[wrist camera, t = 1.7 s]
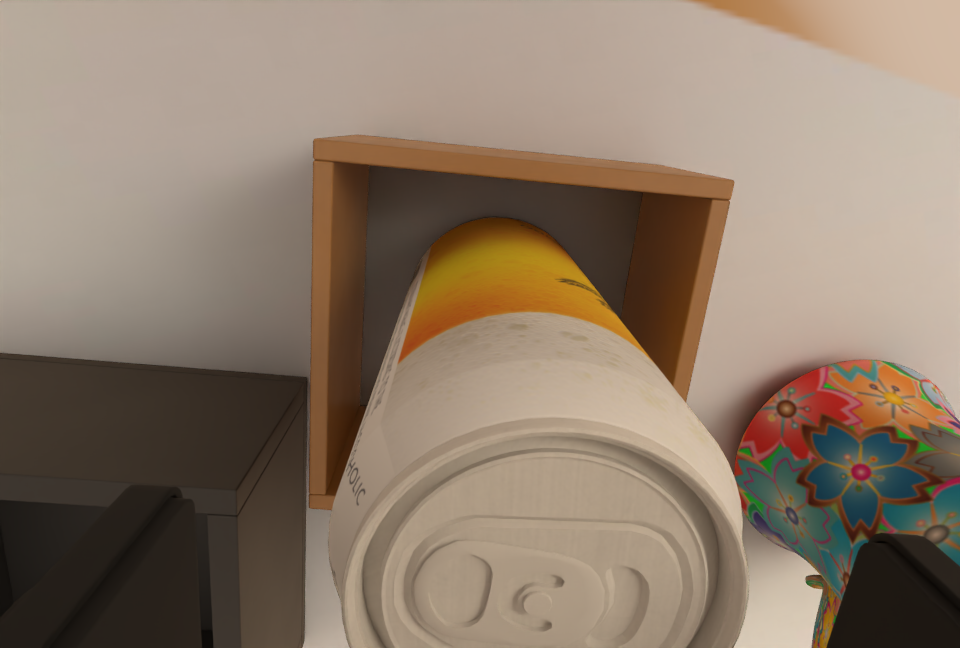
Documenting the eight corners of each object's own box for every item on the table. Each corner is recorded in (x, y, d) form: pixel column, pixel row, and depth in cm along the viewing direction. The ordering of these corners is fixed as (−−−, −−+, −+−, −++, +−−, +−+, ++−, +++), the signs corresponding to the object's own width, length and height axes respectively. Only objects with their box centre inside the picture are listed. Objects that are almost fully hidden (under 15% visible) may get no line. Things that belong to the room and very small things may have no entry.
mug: (799, 302, 22) (1071, 448, 12) (996, 396, 24) (1386, 596, 14) (640, 551, 26) (752, 827, 16) (821, 621, 27) (1032, 915, 17)
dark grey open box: (-41, 349, 22) (-278, 454, 15) (307, 377, 23) (236, 490, 16) (8, 623, 26) (-163, 809, 19) (304, 640, 27) (246, 827, 20)
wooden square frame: (355, 134, 20) (312, 138, 15) (661, 165, 21) (735, 180, 15) (346, 415, 23) (308, 509, 18) (612, 436, 24) (657, 533, 18)
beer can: (557, 387, 23) (701, 801, 9) (399, 360, 23) (287, 753, 9) (596, 231, 21) (853, 442, 7) (425, 199, 21) (337, 355, 7)
